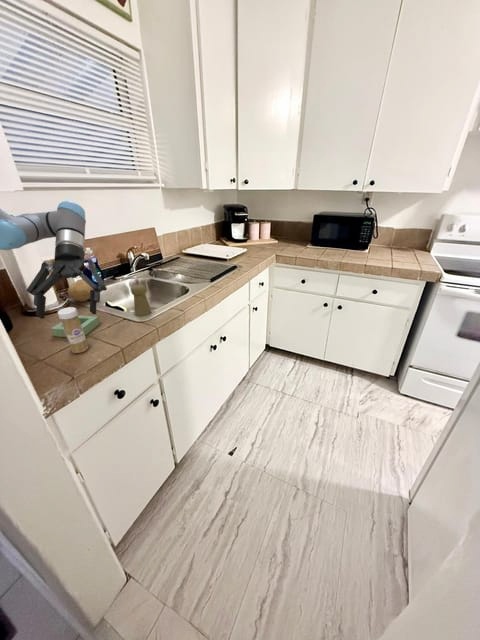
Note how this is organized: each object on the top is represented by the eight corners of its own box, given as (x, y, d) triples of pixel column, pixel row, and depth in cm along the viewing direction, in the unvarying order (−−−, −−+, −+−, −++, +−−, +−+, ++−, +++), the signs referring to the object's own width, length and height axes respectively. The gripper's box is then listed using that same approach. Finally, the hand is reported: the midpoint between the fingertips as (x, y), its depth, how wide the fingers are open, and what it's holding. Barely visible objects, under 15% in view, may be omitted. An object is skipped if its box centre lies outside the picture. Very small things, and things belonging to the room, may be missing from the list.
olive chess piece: (134, 310, 103) (128, 284, 98) (150, 307, 106) (145, 282, 100) (135, 316, 99) (129, 289, 93) (151, 314, 101) (147, 287, 95)
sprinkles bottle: (78, 355, 77) (64, 314, 70) (68, 351, 78) (53, 311, 72) (92, 347, 80) (79, 308, 74) (82, 344, 82) (69, 305, 76)
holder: (54, 336, 86) (51, 328, 85) (75, 322, 95) (72, 314, 94) (81, 338, 85) (79, 330, 84) (100, 323, 94) (98, 316, 92)
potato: (66, 307, 106) (60, 289, 102) (76, 295, 118) (71, 278, 114) (92, 305, 108) (87, 287, 104) (99, 293, 120) (95, 276, 116)
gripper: (117, 254, 85) (117, 315, 79) (31, 257, 81) (25, 322, 75) (109, 240, 78) (109, 306, 72) (15, 243, 73) (7, 314, 68)
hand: (67, 314), depth 73 cm, fingers open, 13 cm apart
